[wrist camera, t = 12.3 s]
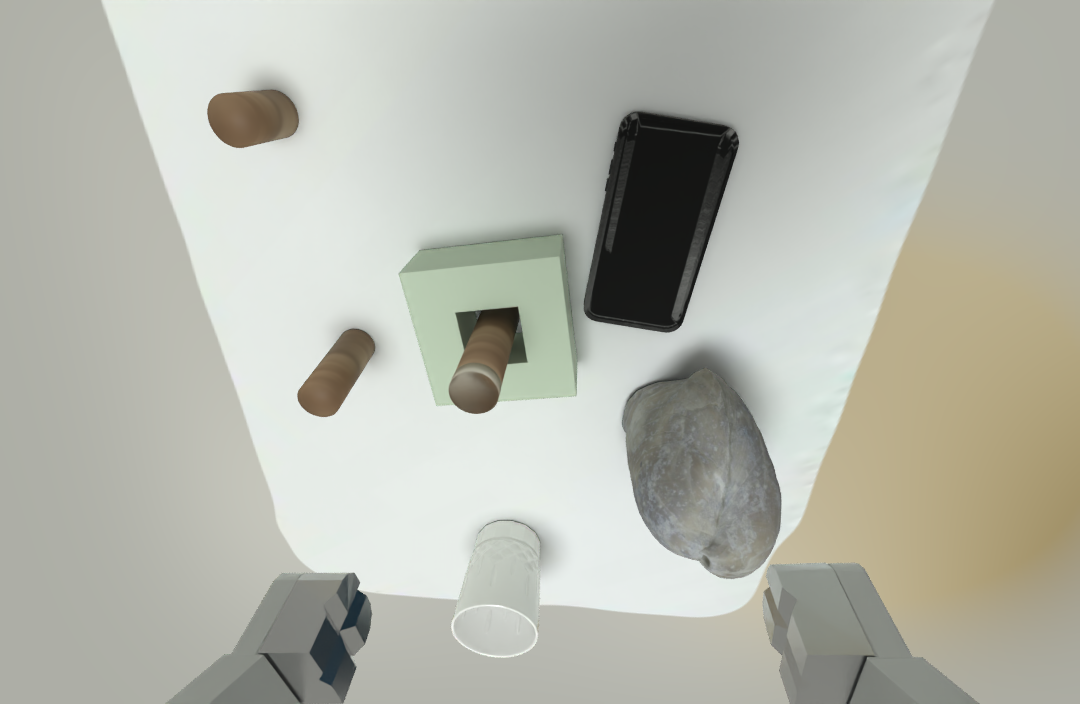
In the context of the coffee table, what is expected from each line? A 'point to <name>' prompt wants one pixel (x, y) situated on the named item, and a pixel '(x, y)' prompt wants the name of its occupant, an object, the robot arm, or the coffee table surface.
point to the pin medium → (336, 373)
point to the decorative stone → (703, 473)
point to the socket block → (490, 283)
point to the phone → (657, 219)
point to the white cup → (500, 592)
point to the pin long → (484, 361)
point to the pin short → (252, 117)
